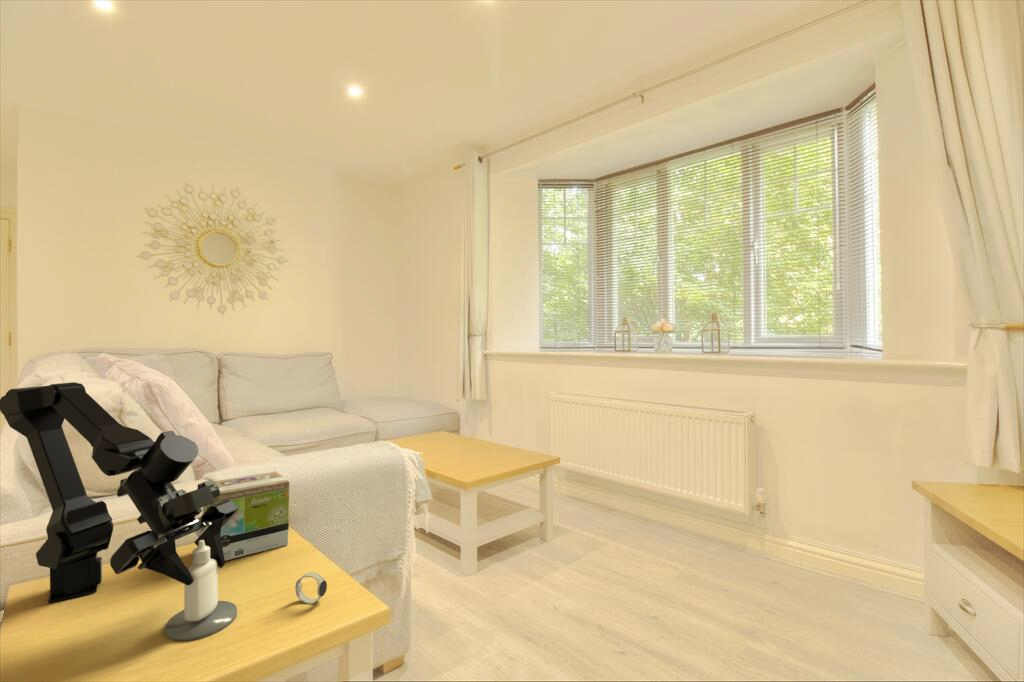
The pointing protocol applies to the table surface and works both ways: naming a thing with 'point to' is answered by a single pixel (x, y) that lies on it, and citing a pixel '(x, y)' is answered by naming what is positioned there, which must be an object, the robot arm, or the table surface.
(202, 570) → the eye dropper bottle
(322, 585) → the wristwatch
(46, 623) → the table surface
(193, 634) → the charcoal coaster
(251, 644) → the table surface
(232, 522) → the tea box
